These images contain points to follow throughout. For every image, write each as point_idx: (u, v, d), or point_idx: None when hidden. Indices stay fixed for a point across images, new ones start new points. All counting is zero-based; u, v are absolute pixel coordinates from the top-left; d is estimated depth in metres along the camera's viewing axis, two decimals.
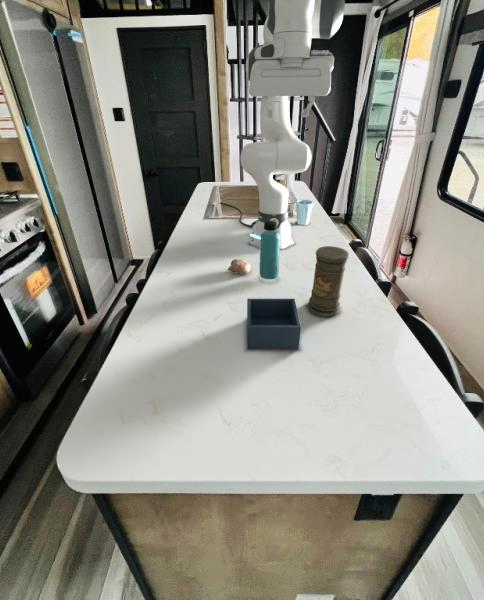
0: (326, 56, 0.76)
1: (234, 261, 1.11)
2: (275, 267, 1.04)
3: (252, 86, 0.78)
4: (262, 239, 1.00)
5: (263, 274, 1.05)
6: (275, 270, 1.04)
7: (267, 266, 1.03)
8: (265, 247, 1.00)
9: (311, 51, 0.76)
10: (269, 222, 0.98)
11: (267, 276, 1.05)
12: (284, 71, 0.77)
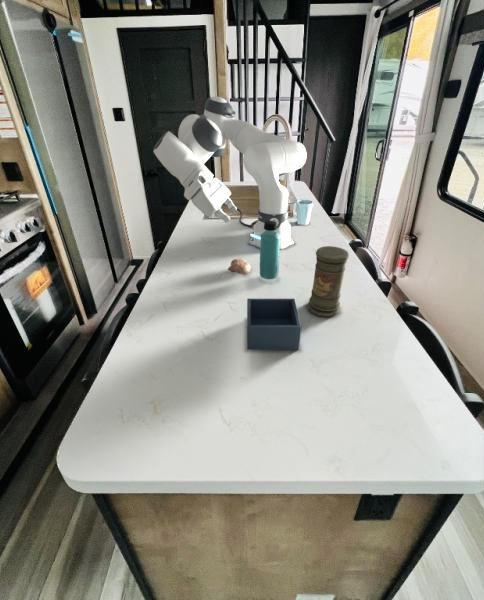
0: (211, 178, 1.03)
1: (234, 261, 1.11)
2: (275, 267, 1.04)
3: (213, 203, 0.89)
4: (262, 239, 1.00)
5: (263, 274, 1.05)
6: (275, 270, 1.04)
7: (267, 266, 1.03)
8: (265, 247, 1.00)
9: None
10: (269, 222, 0.98)
11: (267, 276, 1.05)
12: (211, 190, 0.95)
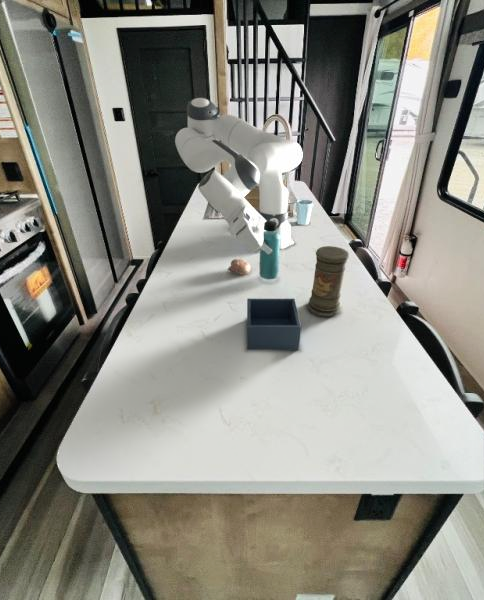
0: None
1: (234, 261, 1.11)
2: (275, 267, 1.04)
3: (258, 240, 0.92)
4: None
5: (263, 274, 1.05)
6: (275, 270, 1.04)
7: (267, 266, 1.03)
8: None
9: None
10: (269, 222, 0.97)
11: (267, 276, 1.05)
12: (254, 224, 0.98)
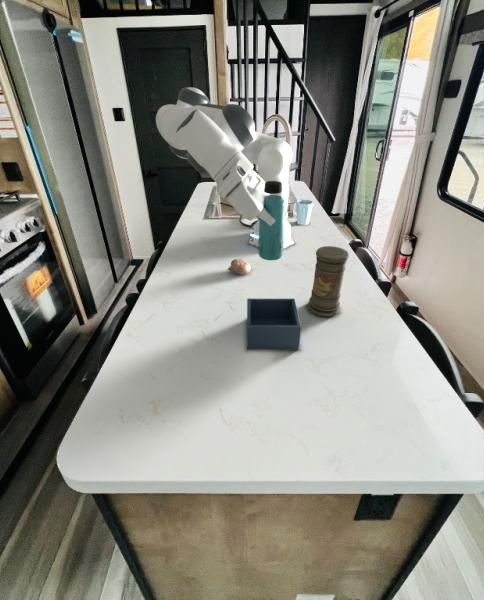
0: None
1: (234, 261, 1.11)
2: (279, 244, 0.79)
3: (256, 203, 0.68)
4: None
5: (263, 253, 0.81)
6: (279, 248, 0.80)
7: (268, 243, 0.78)
8: None
9: None
10: (271, 182, 0.73)
11: (268, 256, 0.80)
12: (251, 185, 0.74)
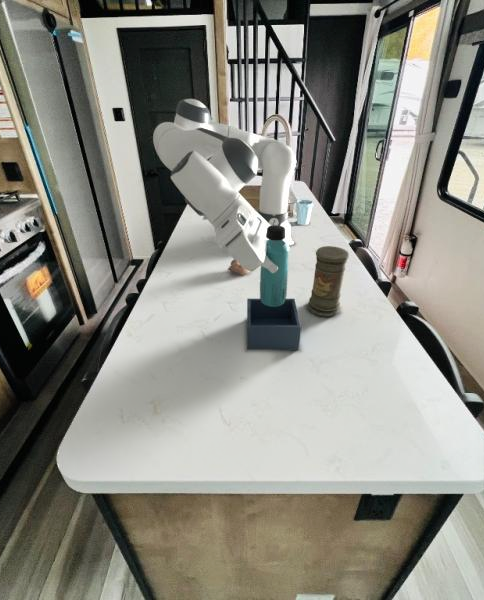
0: None
1: (234, 261, 1.11)
2: (282, 290, 0.74)
3: (258, 254, 0.62)
4: None
5: (265, 300, 0.75)
6: (282, 294, 0.74)
7: (271, 289, 0.73)
8: None
9: None
10: (274, 228, 0.67)
11: (270, 303, 0.75)
12: (252, 231, 0.68)
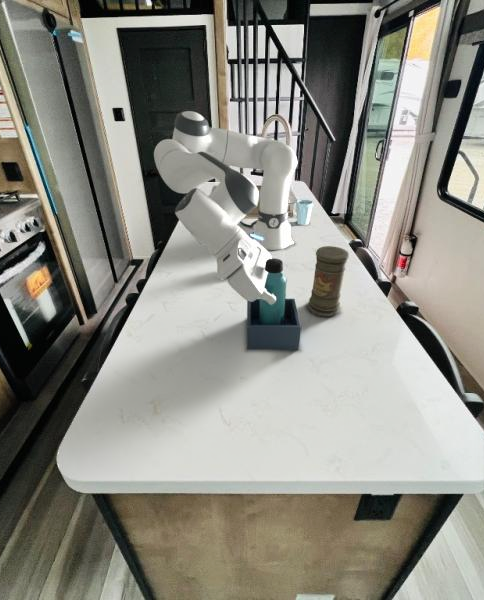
0: None
1: None
2: (280, 318, 0.78)
3: (257, 286, 0.66)
4: None
5: None
6: (280, 322, 0.79)
7: (269, 317, 0.77)
8: None
9: None
10: (272, 262, 0.72)
11: None
12: (252, 262, 0.72)
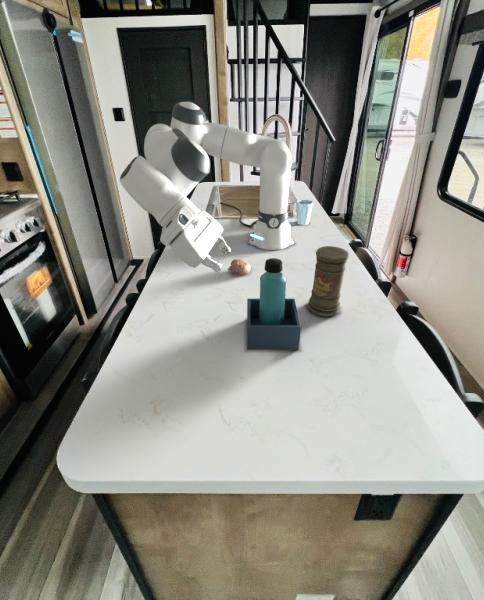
0: None
1: (234, 261, 1.11)
2: (280, 318, 0.78)
3: (198, 251, 0.67)
4: (262, 283, 0.74)
5: None
6: (280, 322, 0.79)
7: (269, 317, 0.77)
8: (267, 293, 0.74)
9: None
10: (272, 261, 0.72)
11: None
12: (197, 230, 0.73)
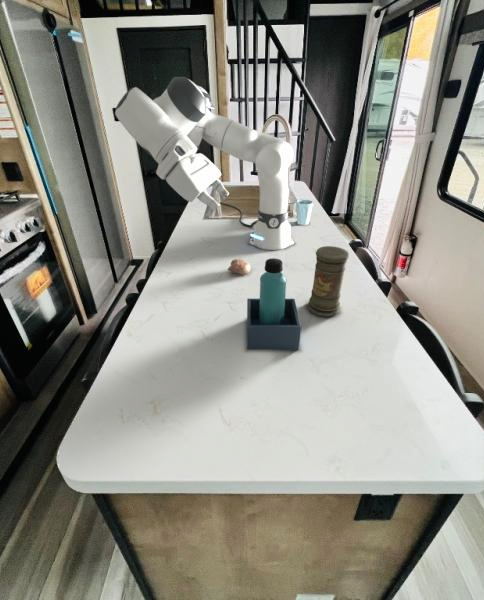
0: None
1: (234, 261, 1.11)
2: (280, 318, 0.78)
3: (195, 183, 0.66)
4: (262, 283, 0.74)
5: None
6: (280, 322, 0.79)
7: (269, 317, 0.77)
8: (267, 294, 0.74)
9: None
10: (272, 261, 0.72)
11: None
12: (194, 167, 0.72)
